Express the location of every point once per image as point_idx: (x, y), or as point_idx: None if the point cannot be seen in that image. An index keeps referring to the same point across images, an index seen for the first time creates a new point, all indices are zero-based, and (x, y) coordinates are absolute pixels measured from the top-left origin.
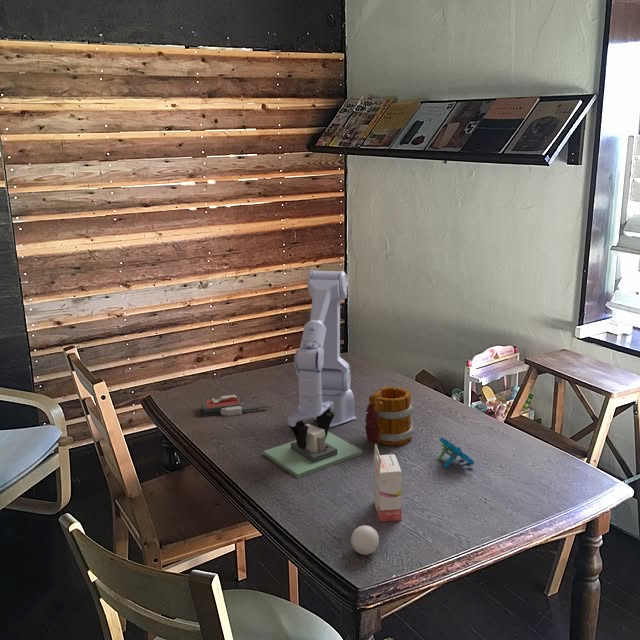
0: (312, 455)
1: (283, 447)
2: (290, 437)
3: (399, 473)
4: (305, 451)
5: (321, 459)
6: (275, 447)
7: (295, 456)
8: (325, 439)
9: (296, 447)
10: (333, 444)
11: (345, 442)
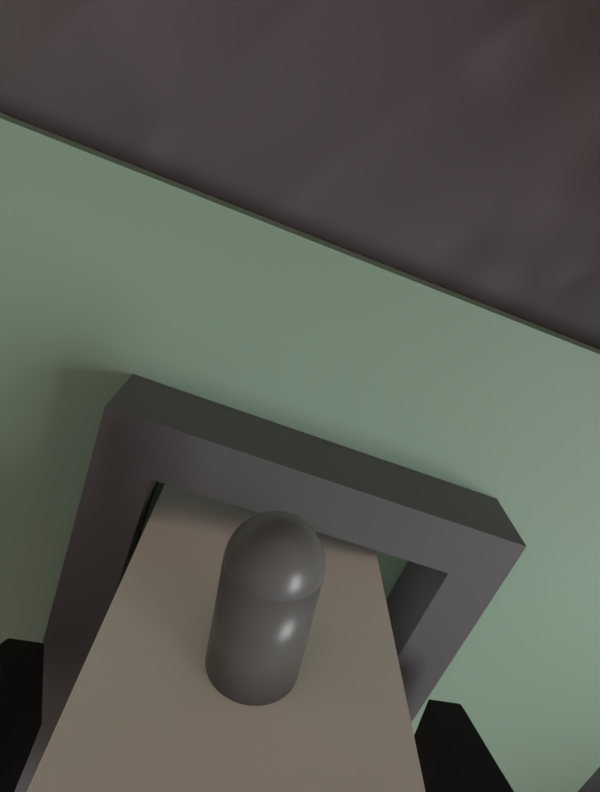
0: (29, 783)
1: (98, 255)
2: (563, 37)
3: None
4: (52, 688)
5: None
6: (9, 134)
7: (9, 541)
8: (582, 589)
9: (68, 545)
10: (493, 703)
11: (583, 763)
